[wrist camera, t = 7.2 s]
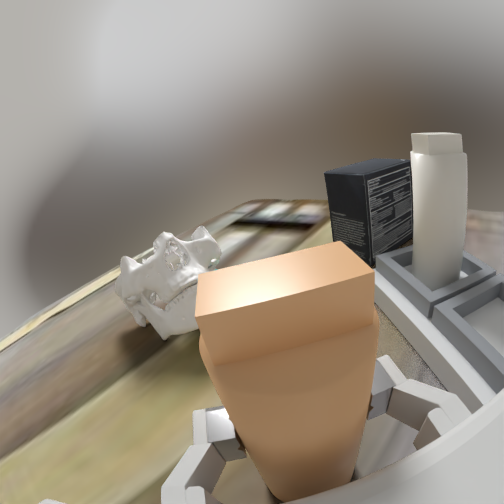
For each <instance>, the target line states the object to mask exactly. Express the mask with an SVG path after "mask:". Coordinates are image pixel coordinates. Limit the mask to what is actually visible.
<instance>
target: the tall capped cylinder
mask: <svg viewBox="0 0 504 504" xmlns="http://www.w3.org/2000/svg"><path fill="white" fill-rule="evenodd" d="M374 292H375V271H374V270H373V269H372V268H371V267H369V266H368V265H367V264H366V263H365V262H364V261H363V260H362V259H361V258H359V257H358V256H357V255H356V254H355V253H354V252H353V251H352V250H351V249H349V248H348V247H347V246H346V245H345V244H344V243H343V242H341V241H336V242H332V243H328V244H324V245H320V246H316V247H312V248H307V249H303V250H299V251H295V252H291V253H287V254H282V255H278V256H274V257H270V258H266V259H261V260H257V261H253V262H249V263H244V264H240V265H236V266H232V267H227V268H223V269H219V270H215V271H210V272H206V273H202V274H198V284H197V295H196V307H195V319H196V322H197V325H198V327H199V330H200V332H201V334H200V339H199V351H200V354H201V358H202V360H203V362H204V365H205V367H206V369H207V371H208V374H209V376H210V378H211V380H212V382H213V385H214V387H215V389H216V391H217V393H218V395H219V397H220V399H221V401H222V403H223V405H224V407H225V410H226V412H227V414H228V416H229V418H230V420H231V421H232V423H233V425H234V427H235V429H236V431H237V433H238V435H239V437H240V439H241V441H242V442H243V444H244V446H245V448H246V450H247V452H248V453H249V455H250V457H251V459H252V461H253V462H254V464H255V466H256V468H257V469H258V471H259V473H260V475H261V476H262V478H263V480H264V481H265V483H266V485H267V486H268V488H269V490H270V491H271V492H272V494H273V495H274V496H275V497H276V498H278V499H279V500H280V501H282V502H284V503H285V502H290V501H294V500H297V499H301V498H305V497H308V496H312V495H315V494H318V493H322V492H325V491H328V490H331V489H334V488H336V487H339V486H342V485H345V484H347V483H349V482H350V480H351V478H352V475H353V471H354V468H355V464H356V460H357V457H358V453H359V449H360V445H361V441H362V436H363V432H364V427H365V423H366V418H367V413H368V407H369V402H370V396H371V390H372V384H373V377H374V370H375V363H376V355H377V346H378V336H379V317H378V314H377V311H376V309H375V307H374Z"/></svg>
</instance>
